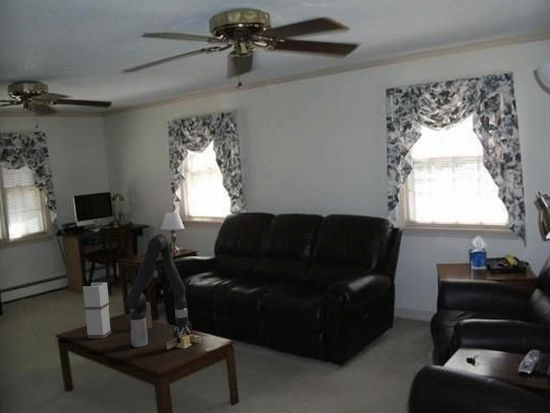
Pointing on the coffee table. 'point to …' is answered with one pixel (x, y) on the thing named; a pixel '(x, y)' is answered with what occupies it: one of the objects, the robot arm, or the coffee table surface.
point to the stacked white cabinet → (97, 310)
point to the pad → (183, 347)
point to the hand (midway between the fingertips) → (183, 340)
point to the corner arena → (174, 343)
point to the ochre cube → (184, 340)
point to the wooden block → (148, 316)
